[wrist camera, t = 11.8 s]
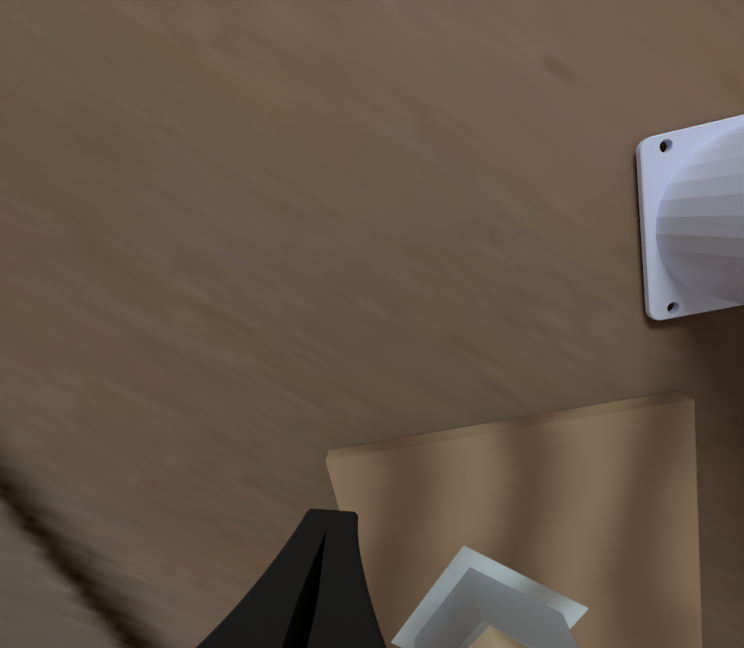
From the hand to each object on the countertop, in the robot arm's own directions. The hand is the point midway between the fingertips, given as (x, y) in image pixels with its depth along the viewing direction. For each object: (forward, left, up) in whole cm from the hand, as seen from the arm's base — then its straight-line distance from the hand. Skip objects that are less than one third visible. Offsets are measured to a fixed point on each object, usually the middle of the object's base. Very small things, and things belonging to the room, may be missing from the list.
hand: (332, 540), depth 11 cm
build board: (-7, +12, -10) cm, 17 cm away
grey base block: (-4, +15, -9) cm, 18 cm away
